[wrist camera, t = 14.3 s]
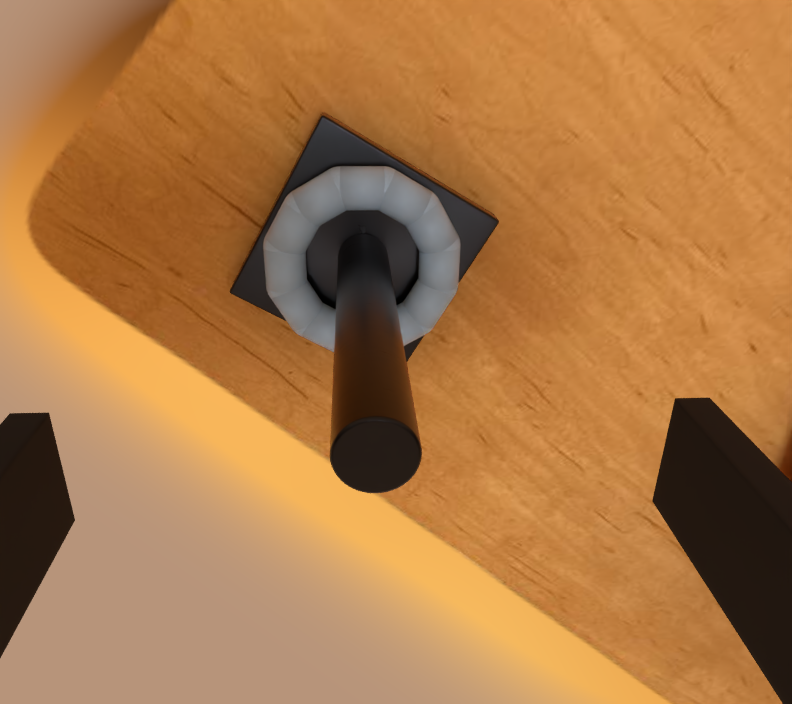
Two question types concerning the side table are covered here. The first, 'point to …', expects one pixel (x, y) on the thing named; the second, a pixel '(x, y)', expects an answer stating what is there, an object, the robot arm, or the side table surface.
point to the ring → (360, 193)
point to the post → (366, 306)
